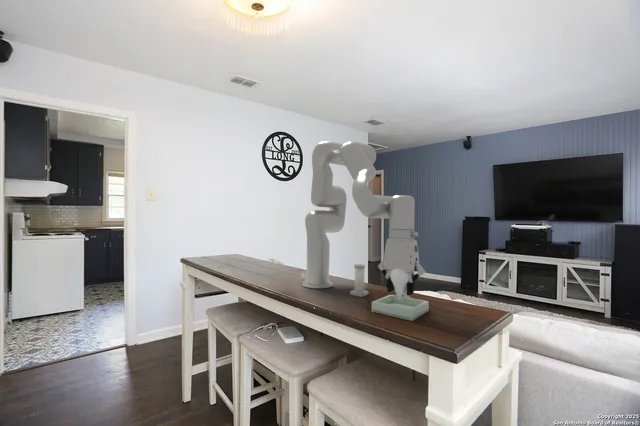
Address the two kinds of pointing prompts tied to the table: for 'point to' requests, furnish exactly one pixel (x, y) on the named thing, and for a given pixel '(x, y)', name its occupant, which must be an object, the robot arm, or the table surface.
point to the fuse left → (359, 281)
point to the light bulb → (399, 282)
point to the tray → (400, 307)
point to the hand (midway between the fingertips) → (400, 292)
